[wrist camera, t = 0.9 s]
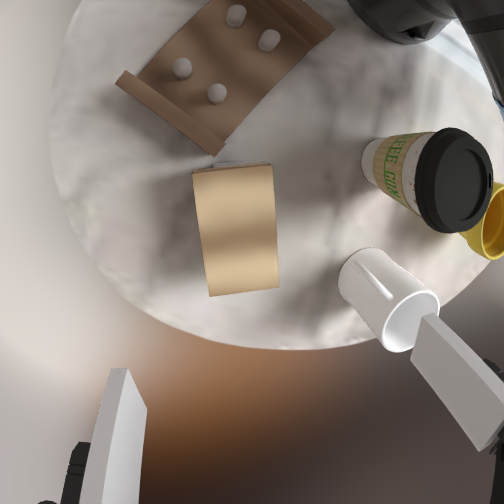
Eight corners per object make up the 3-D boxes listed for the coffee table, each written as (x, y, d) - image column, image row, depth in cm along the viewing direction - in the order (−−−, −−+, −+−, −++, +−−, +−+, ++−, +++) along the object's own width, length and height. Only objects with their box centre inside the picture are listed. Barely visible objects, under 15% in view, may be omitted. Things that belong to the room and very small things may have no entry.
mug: (311, 261, 38) (351, 312, 27) (361, 216, 37) (417, 251, 26) (356, 313, 42) (396, 365, 31) (399, 274, 41) (448, 317, 30)
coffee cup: (341, 128, 32) (423, 131, 19) (407, 121, 33) (494, 127, 19) (353, 207, 36) (428, 251, 22) (414, 193, 37) (495, 226, 23)
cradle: (237, -18, 24) (243, -41, 19) (316, 42, 28) (335, 29, 23) (128, 91, 28) (114, 83, 22) (212, 154, 32) (214, 157, 27)
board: (193, 170, 28) (191, 173, 25) (265, 162, 29) (272, 165, 26) (208, 283, 33) (209, 296, 30) (273, 274, 33) (279, 287, 31)
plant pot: (482, 180, 38) (526, 195, 29) (467, 240, 41) (507, 263, 32) (443, 164, 36) (492, 177, 27) (426, 232, 39) (471, 257, 30)
